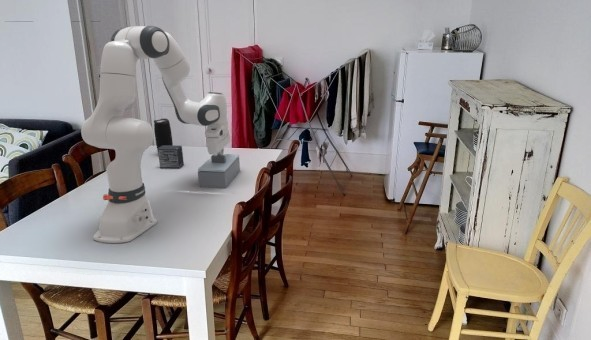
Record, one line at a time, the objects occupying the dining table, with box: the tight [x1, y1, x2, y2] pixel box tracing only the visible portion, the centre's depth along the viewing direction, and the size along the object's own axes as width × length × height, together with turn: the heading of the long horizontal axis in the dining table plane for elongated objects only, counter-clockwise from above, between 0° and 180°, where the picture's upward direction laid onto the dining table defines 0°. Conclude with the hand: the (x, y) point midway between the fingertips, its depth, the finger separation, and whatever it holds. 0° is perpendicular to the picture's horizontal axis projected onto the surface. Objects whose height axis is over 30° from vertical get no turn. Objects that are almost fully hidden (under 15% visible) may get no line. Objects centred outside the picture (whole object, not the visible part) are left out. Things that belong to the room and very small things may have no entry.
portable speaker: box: [153, 118, 174, 152], centre depth 223 cm, size 9×9×20 cm
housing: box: [197, 156, 241, 189], centre depth 187 cm, size 22×12×8 cm, turn 171°
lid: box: [197, 153, 240, 172], centre depth 185 cm, size 22×12×4 cm, turn 171°
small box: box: [157, 145, 185, 169], centre depth 206 cm, size 11×6×10 cm, turn 84°
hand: (220, 158), depth 187 cm, fingers closed
